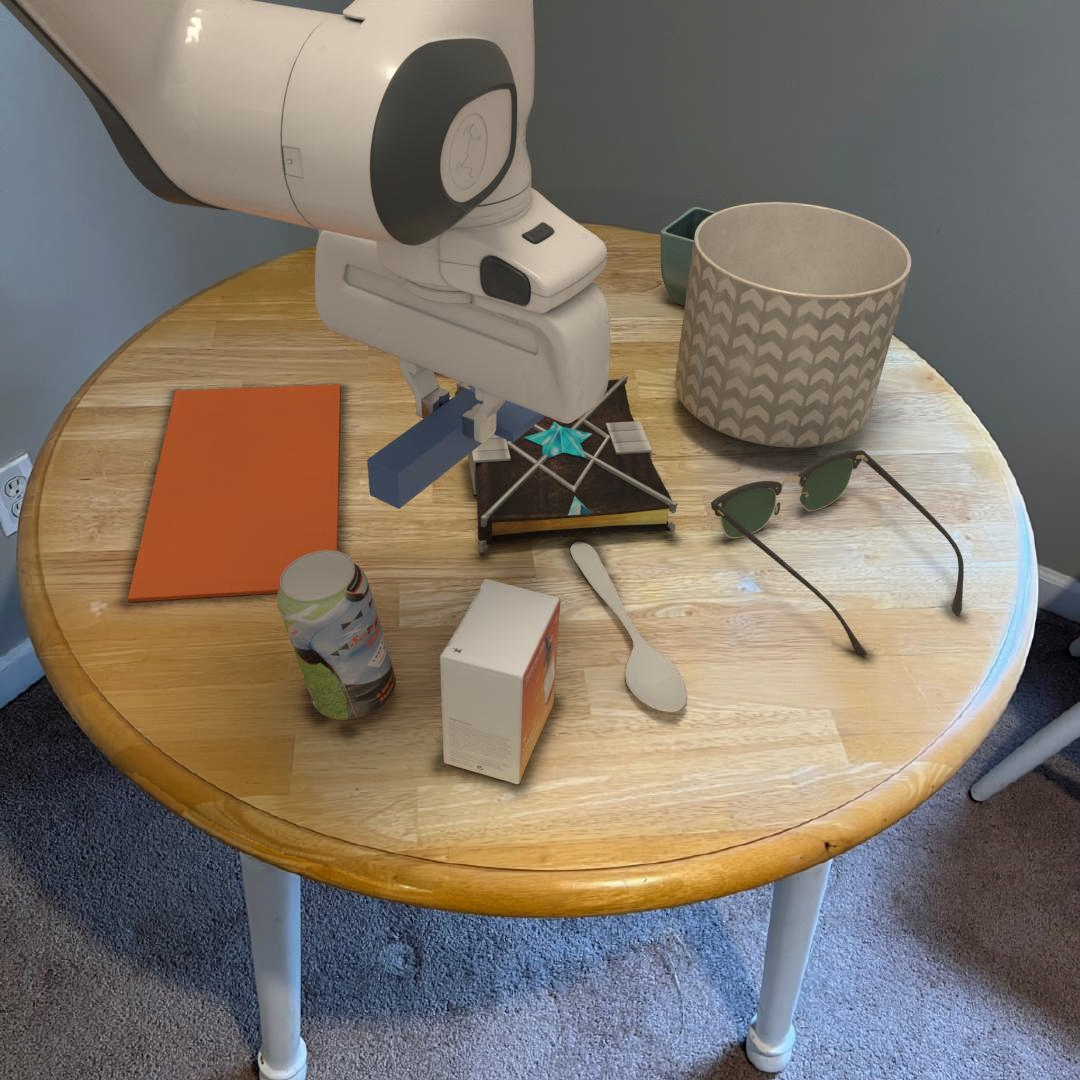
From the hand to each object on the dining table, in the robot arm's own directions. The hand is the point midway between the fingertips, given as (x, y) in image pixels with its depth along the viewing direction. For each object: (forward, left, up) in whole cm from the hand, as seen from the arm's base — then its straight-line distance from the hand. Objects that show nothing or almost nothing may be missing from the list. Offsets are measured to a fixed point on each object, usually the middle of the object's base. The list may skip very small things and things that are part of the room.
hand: (456, 426), depth 71 cm
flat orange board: (+5, +27, -19) cm, 33 cm away
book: (+22, +5, -19) cm, 29 cm away
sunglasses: (+24, -22, -19) cm, 38 cm away
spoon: (+8, -10, -19) cm, 23 cm away
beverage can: (-10, +3, -19) cm, 22 cm away
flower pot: (+60, +9, -19) cm, 63 cm away
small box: (-6, -8, -19) cm, 22 cm away
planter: (+42, -7, -19) cm, 47 cm away
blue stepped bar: (+1, 0, -2) cm, 2 cm away
